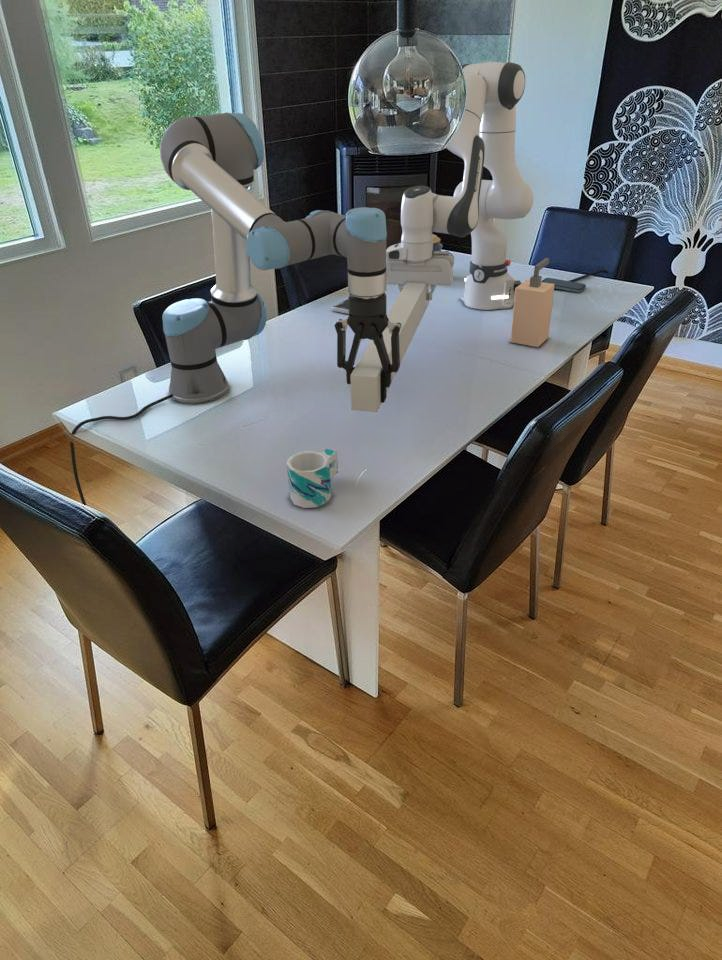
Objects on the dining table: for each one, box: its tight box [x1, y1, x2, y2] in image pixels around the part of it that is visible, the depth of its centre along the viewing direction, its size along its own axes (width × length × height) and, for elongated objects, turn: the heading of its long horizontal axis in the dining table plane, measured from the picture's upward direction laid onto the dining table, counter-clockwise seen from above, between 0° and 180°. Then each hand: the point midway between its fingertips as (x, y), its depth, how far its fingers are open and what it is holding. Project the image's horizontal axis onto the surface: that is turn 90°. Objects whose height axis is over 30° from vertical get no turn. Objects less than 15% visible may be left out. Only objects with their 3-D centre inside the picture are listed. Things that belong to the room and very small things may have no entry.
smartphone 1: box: [331, 298, 349, 315], centre depth 231 cm, size 8×1×15 cm
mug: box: [286, 448, 339, 509], centre depth 133 cm, size 8×12×8 cm
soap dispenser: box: [510, 257, 555, 348], centre depth 195 cm, size 13×9×22 cm
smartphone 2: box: [541, 277, 587, 293], centre depth 241 cm, size 8×2×15 cm
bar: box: [350, 283, 430, 413], centre depth 168 cm, size 71×6×8 cm, turn 166°
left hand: (369, 398), depth 145 cm, fingers closed on bar, 6 cm apart
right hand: (416, 299), depth 194 cm, fingers closed on bar, 5 cm apart
